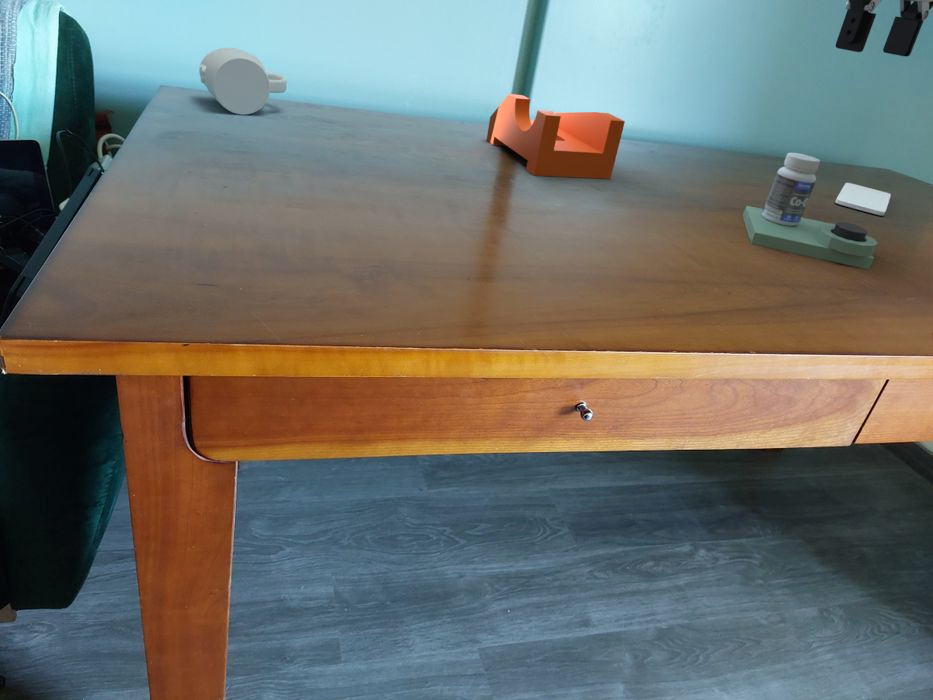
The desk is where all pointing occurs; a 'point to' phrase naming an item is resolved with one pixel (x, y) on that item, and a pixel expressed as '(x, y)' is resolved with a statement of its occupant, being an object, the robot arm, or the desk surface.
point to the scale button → (850, 231)
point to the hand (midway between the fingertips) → (872, 52)
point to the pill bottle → (791, 189)
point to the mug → (239, 80)
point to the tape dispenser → (557, 139)
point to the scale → (808, 239)
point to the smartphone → (863, 199)
